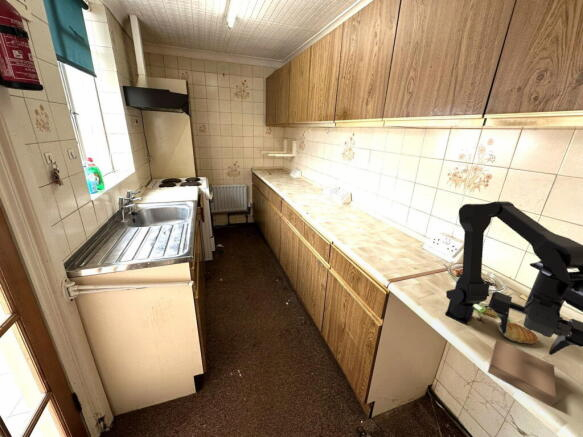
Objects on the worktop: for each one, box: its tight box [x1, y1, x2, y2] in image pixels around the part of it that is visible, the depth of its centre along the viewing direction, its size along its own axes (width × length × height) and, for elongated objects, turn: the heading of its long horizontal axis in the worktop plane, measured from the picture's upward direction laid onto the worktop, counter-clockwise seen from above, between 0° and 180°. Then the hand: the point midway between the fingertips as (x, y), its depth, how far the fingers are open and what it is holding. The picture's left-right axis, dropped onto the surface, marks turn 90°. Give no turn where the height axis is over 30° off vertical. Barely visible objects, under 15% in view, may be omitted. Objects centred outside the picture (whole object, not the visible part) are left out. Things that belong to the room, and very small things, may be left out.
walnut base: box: [487, 338, 557, 407], centre depth 65 cm, size 12×12×3 cm
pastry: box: [497, 321, 539, 345], centre depth 77 cm, size 9×7×4 cm
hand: (525, 342), depth 64 cm, fingers open, 9 cm apart
